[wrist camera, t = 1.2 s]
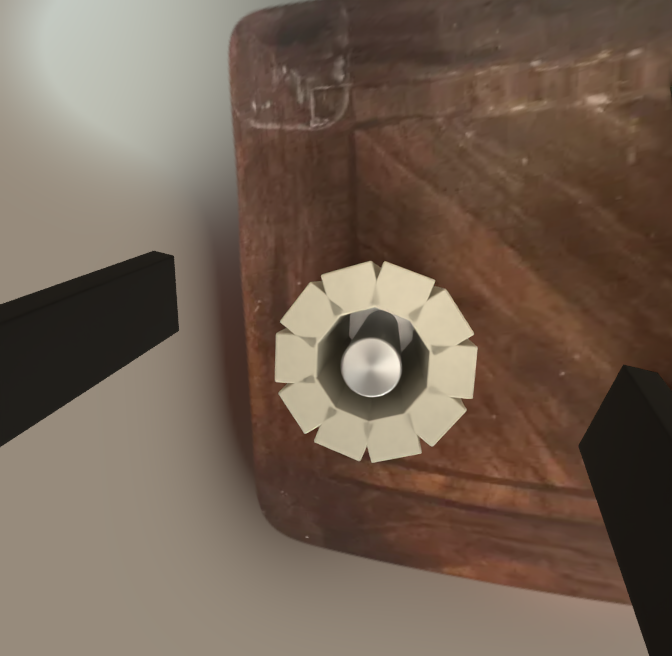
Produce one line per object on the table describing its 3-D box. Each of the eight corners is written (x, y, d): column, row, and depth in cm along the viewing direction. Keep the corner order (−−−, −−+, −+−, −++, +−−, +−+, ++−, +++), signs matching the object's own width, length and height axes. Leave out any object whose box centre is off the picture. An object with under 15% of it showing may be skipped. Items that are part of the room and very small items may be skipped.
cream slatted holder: (309, 287, 28) (249, 294, 16) (425, 255, 27) (451, 237, 15) (339, 394, 29) (301, 476, 17) (453, 368, 27) (499, 438, 15)
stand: (315, 286, 29) (247, 294, 16) (422, 256, 28) (450, 237, 14) (343, 388, 30) (301, 482, 16) (449, 364, 29) (500, 444, 15)
